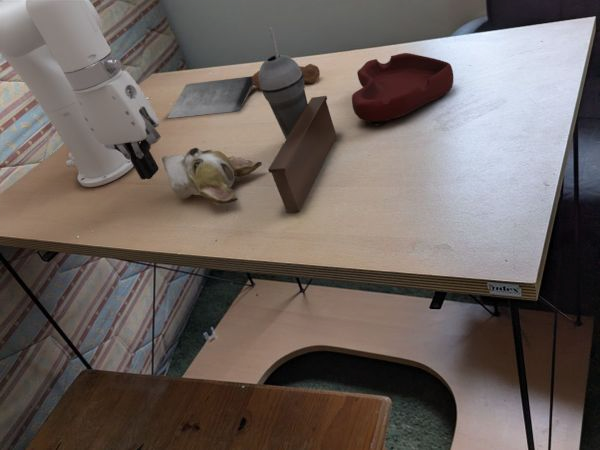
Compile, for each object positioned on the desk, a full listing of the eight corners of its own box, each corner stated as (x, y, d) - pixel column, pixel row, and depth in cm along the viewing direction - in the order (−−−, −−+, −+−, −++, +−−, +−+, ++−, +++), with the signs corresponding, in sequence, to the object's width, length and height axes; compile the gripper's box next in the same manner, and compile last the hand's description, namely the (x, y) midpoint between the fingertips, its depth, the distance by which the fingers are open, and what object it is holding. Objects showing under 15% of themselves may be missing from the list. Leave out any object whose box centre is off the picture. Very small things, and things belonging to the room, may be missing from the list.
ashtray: (457, 116, 86) (453, 87, 83) (355, 134, 91) (348, 107, 88) (453, 67, 100) (449, 41, 97) (364, 86, 105) (358, 61, 102)
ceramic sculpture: (175, 130, 92) (253, 129, 86) (193, 173, 97) (268, 174, 91) (139, 168, 85) (222, 170, 79) (162, 212, 90) (240, 216, 84)
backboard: (285, 212, 80) (267, 169, 75) (324, 137, 94) (311, 97, 89) (301, 212, 79) (284, 168, 74) (338, 136, 93) (326, 95, 88)
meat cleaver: (166, 118, 122) (158, 102, 120) (191, 93, 130) (184, 77, 127) (304, 105, 107) (298, 86, 105) (323, 77, 115) (318, 59, 112)
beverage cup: (289, 133, 99) (251, 24, 87) (327, 129, 96) (293, 15, 84) (276, 156, 94) (233, 43, 82) (316, 152, 91) (277, 35, 79)
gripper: (146, 53, 81) (197, 158, 92) (72, 69, 88) (128, 165, 98) (118, 76, 76) (176, 185, 86) (42, 91, 82) (104, 190, 93)
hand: (150, 174), depth 92 cm, fingers closed
